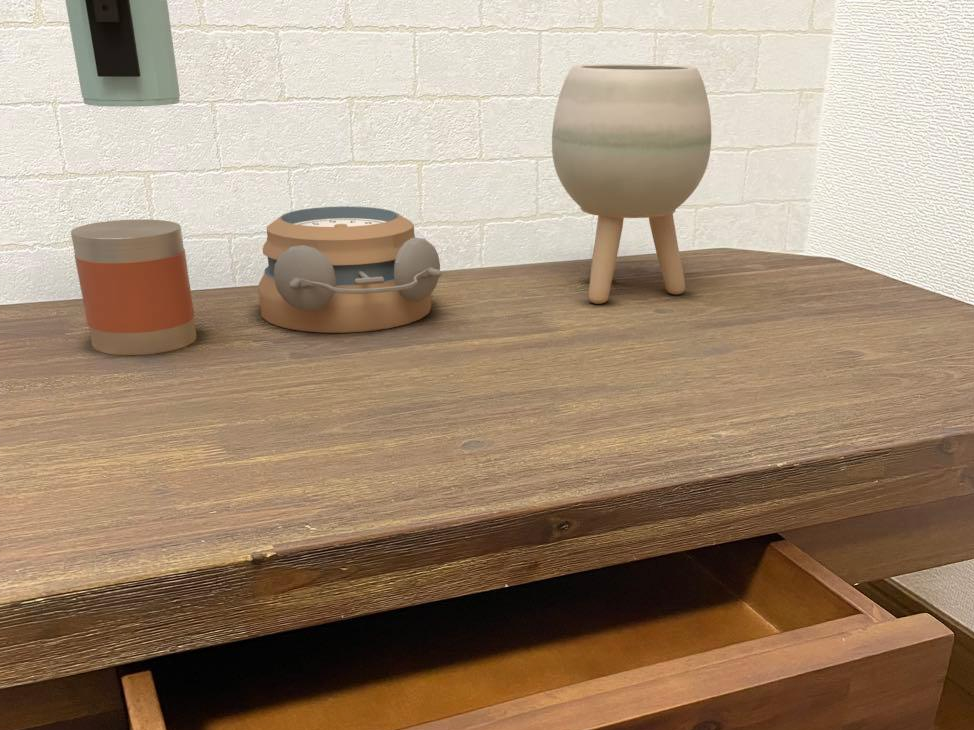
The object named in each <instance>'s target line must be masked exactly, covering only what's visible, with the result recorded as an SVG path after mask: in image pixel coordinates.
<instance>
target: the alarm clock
mask: <svg viewBox="0 0 974 730" xmlns="http://www.w3.org/2000/svg"><path fill="white" fill-rule="evenodd" d="M265 228H266V235H267V236H266V241H265V243H264V244H263V247H262V254H263V255H264V256H265V257H267V264H268V266H267V267H266V268H265V269H264V271H263V275H262V276H261V279H260V281H259V282H258V286H257V291H258V300H259V308H260V309H259V310H260V316H261V318H262V319H263V320H265V321H266V322H267V323H269V324H271V325H273V326H277V327H279V328H284V329H287V330H294V331H299V332H311V333H323V334H325V333H326V334H329V333H331V334H349V333H365V332H373V331H380V330H381V331H382V330H388V329H393V328H396V327H401V326H406V325H409V324H411V323H415V322H416V321H420V320H422V319H423V318H425V317H426V316H428V315H429V314H430V311H431V309H432V305H433V304H432V294H433V292H434V291H435V289H436V288H437V284H438V282H439V279H440V277H442V271H441V263H440V256H439V253H438V251H437V250H436V247H435V246H434V245H433V244H432V243H431V242H430V241H428V240H427V239H425V238H422V237H416V235H415V225H414V223H413V222H412V221H411V220H409V219H408V218H406V217H405V216H403V215H401V214H400V213H398V212H396V211H394V210H391V209H385V208H380V207H371V206H349V205H348V206H346V205H345V206H343V205H342V206H341V205H340V206H321V207H311V208H303V209H297V210H293V211H288V212H286V213H283V214H282V215H280V216H279V217H277V218H276V219H275V220H274V221H272V222H271V223H269V224H268V225H267V226H266V227H265Z"/></svg>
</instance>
